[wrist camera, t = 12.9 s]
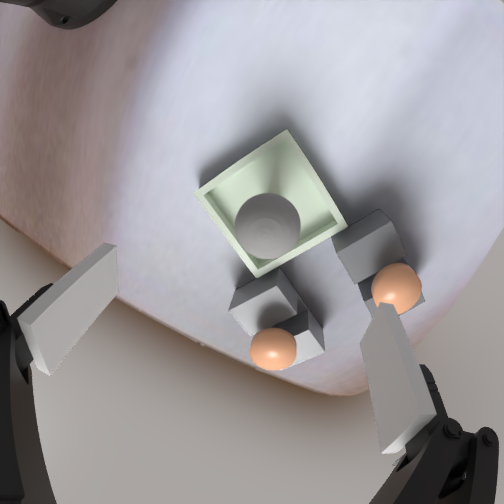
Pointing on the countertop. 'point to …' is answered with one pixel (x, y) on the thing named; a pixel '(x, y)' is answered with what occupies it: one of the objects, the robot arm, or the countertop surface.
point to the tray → (277, 182)
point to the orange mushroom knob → (396, 287)
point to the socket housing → (290, 303)
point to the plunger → (273, 348)
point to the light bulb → (267, 226)
